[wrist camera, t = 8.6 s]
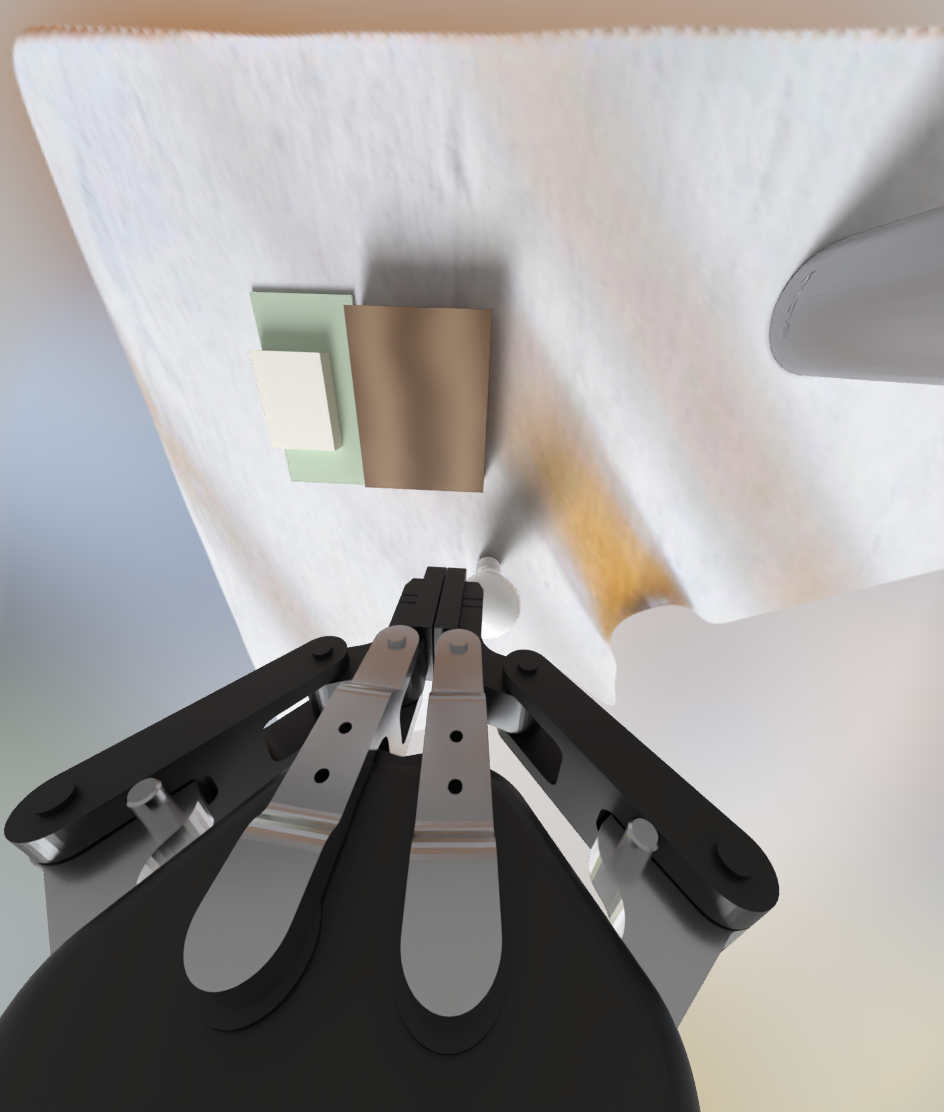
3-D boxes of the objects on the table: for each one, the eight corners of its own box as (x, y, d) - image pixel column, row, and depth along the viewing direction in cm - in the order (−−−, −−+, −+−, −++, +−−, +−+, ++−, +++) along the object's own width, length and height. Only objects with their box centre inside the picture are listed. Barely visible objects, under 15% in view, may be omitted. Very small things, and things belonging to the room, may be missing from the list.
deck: (491, 314, 30) (491, 309, 26) (483, 479, 36) (482, 492, 33) (360, 310, 30) (343, 304, 26) (377, 474, 37) (365, 487, 33)
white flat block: (248, 350, 30) (261, 350, 31) (271, 448, 34) (282, 443, 35) (319, 352, 29) (329, 352, 31) (334, 451, 33) (342, 446, 35)
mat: (353, 295, 29) (351, 295, 29) (373, 483, 37) (372, 485, 37) (252, 292, 30) (249, 291, 29) (293, 480, 38) (291, 481, 37)
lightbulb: (454, 577, 43) (443, 642, 33) (470, 532, 40) (463, 588, 30) (504, 592, 43) (507, 660, 34) (524, 549, 40) (534, 609, 31)
